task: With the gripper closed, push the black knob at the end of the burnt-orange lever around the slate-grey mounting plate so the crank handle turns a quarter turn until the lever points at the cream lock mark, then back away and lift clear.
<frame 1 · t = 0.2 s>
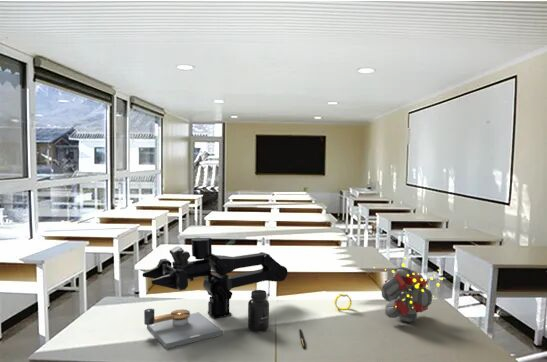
hand: (147, 278, 134), 17 cm above the table, tool horizontal, fingers open, 9 cm apart
molecule model: (405, 321, 143), on the table
crank handle: (167, 313, 134), point 6 cm above the table, hinge at 0.0°
fountain pen: (302, 340, 129), on the table
coupling base: (180, 327, 137), on the table
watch: (342, 309, 154), on the table
supplement bottle: (258, 329, 137), on the table
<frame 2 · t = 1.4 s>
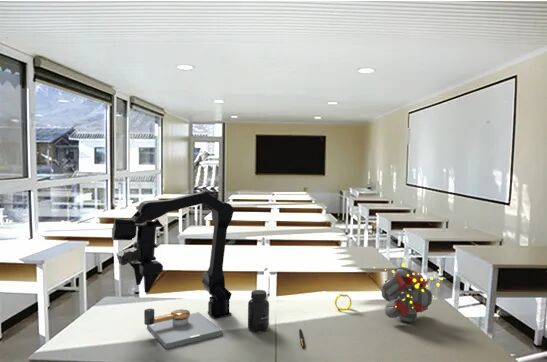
hand: (142, 288, 136), 13 cm above the table, tool pointing down, fingers open, 9 cm apart
nothing on the table moved.
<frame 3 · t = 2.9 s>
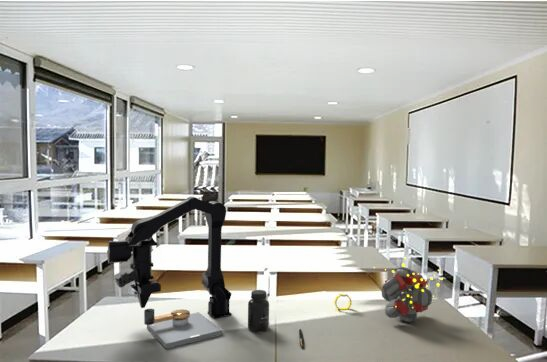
hand: (142, 307, 137), 7 cm above the table, tool pointing down, fingers closed
nothing on the table moved.
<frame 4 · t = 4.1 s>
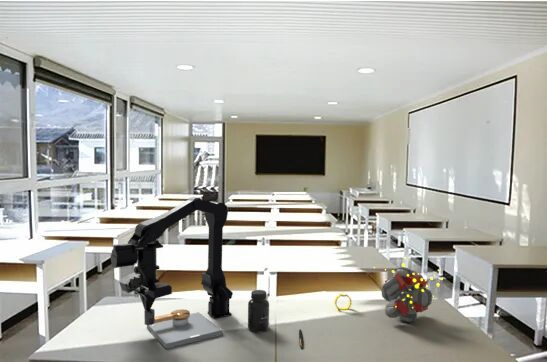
hand: (147, 312, 133), 7 cm above the table, tool pointing down, fingers closed
crank handle: (167, 313, 134), point 6 cm above the table, hinge at 0.9°, touching gripper
everything else where it was.
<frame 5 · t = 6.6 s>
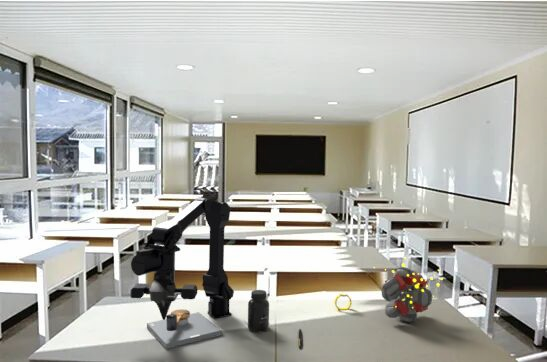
hand: (164, 319, 127), 7 cm above the table, tool pointing down, fingers closed
crank handle: (176, 315, 132), point 6 cm above the table, hinge at 54.3°, touching gripper
everything else where it was.
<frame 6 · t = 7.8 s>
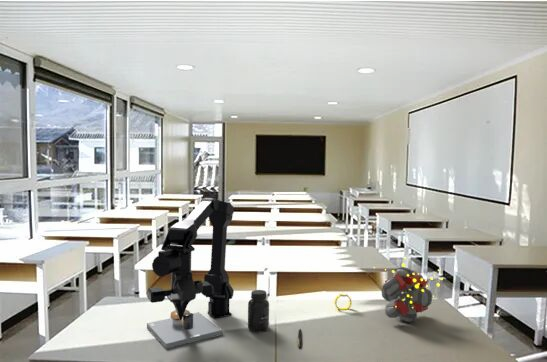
hand: (180, 319, 126), 7 cm above the table, tool pointing down, fingers closed
crank handle: (183, 314, 133), point 6 cm above the table, hinge at 82.1°, touching gripper
everything else where it was.
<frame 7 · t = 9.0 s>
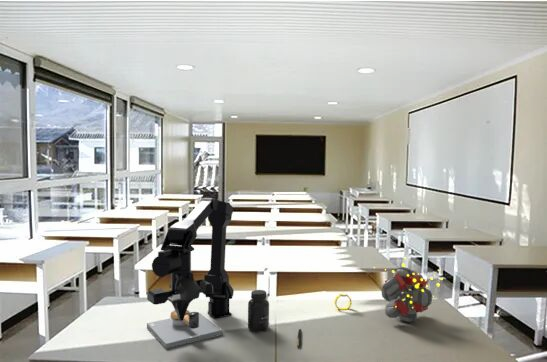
hand: (181, 320, 126), 7 cm above the table, tool pointing down, fingers closed
crank handle: (185, 314, 133), point 6 cm above the table, hinge at 92.6°
everything else where it was.
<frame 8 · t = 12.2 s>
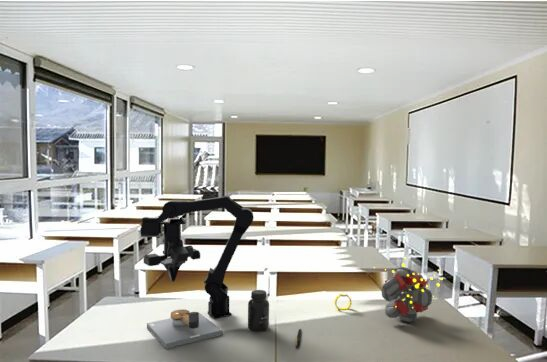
hand: (172, 281, 147), 12 cm above the table, tool pointing down, fingers closed
at the end: crank handle at +93° (first picture: +0°); supplement bottle moved 0.2 cm from its start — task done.
